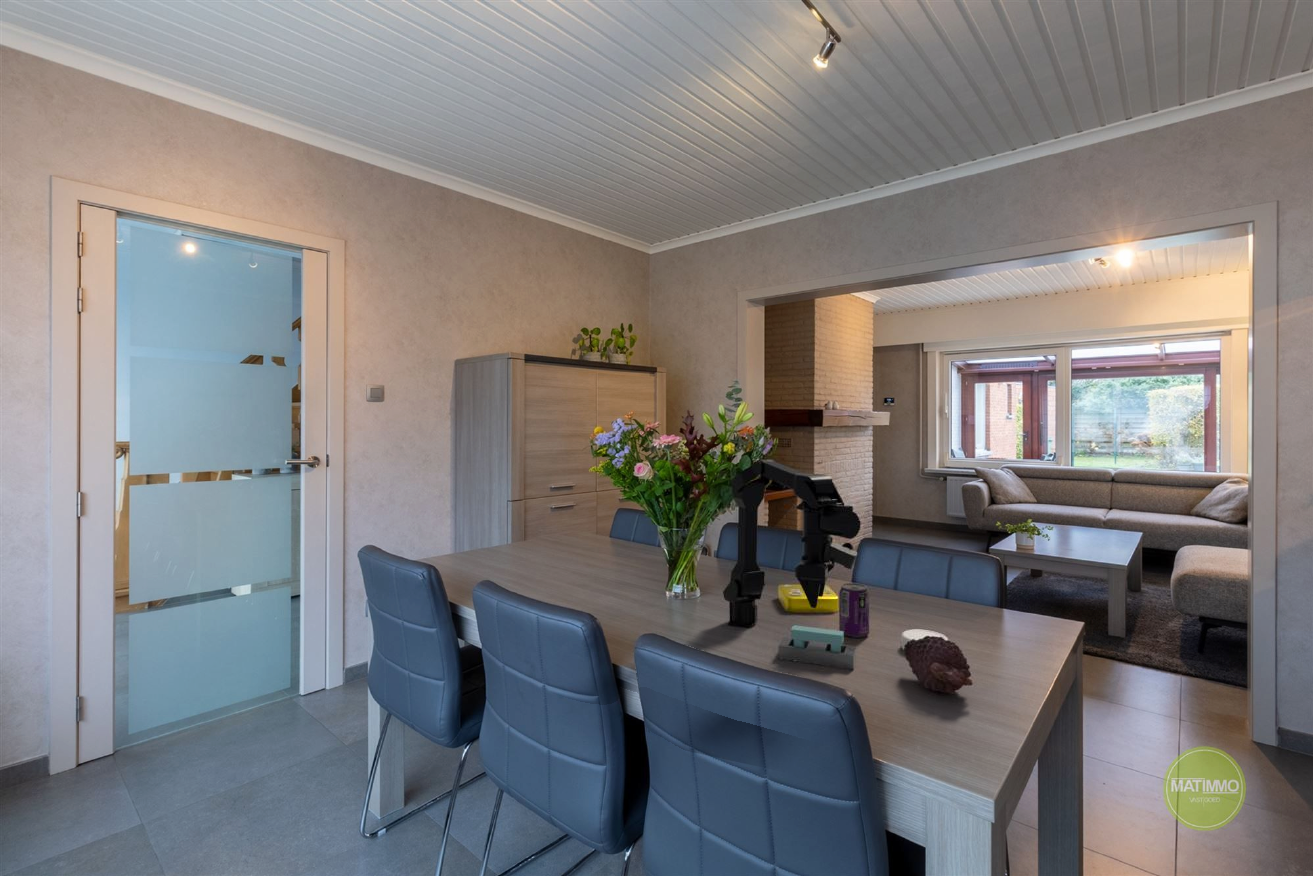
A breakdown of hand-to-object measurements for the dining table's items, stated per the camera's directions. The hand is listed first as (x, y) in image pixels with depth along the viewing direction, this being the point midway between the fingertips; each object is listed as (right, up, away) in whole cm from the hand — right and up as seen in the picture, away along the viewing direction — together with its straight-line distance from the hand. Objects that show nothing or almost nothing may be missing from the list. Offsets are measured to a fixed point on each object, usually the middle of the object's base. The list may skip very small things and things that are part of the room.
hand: (817, 601), depth 134 cm
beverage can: (+14, -13, +16) cm, 25 cm away
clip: (0, -13, 0) cm, 13 cm away
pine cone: (+20, -13, -15) cm, 28 cm away
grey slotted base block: (0, -13, 0) cm, 13 cm away
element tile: (+8, -13, +42) cm, 44 cm away
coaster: (+26, -13, +5) cm, 30 cm away
